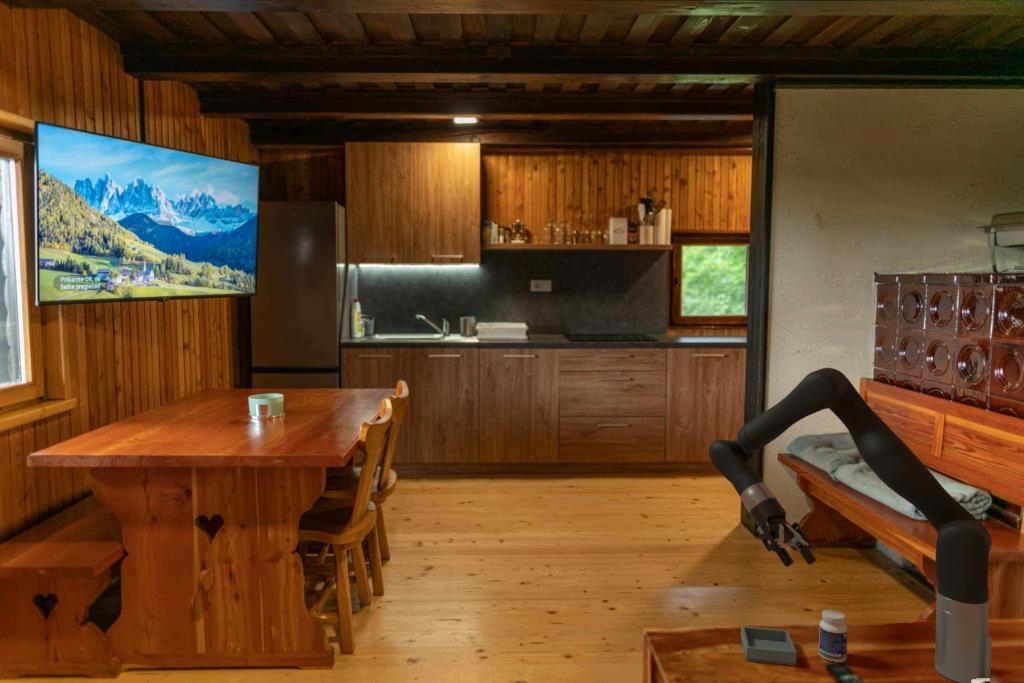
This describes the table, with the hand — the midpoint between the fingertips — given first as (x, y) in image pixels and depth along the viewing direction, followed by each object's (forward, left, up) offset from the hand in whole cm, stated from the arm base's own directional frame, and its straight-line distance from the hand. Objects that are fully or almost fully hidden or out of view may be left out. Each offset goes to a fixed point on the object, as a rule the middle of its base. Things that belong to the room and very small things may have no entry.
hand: (801, 563), depth 159 cm
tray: (+8, +6, -19) cm, 21 cm away
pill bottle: (-6, +6, -19) cm, 21 cm away
